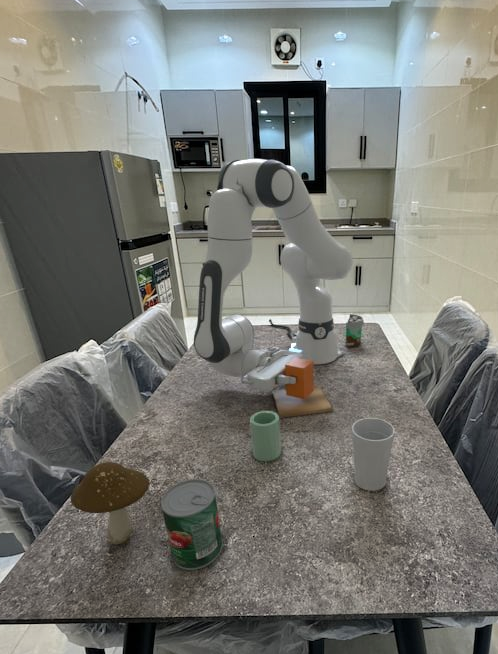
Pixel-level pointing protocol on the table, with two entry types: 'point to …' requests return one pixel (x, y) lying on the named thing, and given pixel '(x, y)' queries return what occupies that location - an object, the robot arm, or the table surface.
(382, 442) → the cup
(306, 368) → the orange block
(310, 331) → the robot arm
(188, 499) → the canned tomato
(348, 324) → the food container
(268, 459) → the green cup
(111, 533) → the mushroom
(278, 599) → the table surface
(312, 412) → the wooden board
